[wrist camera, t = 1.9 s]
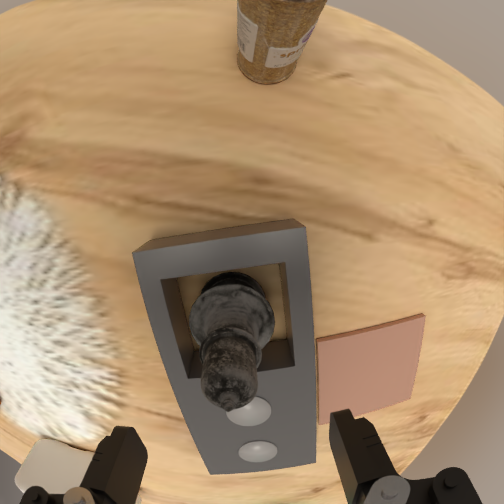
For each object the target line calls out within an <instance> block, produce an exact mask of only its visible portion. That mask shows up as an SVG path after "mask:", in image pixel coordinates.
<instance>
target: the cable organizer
mask: <svg viewBox="0 0 504 504" xmlns="http://www.w3.org/2000/svg"><path fill="white" fill-rule="evenodd" d="M94 454H95V452H91V451H82V450H79V449H76V448H73V447H70V446H69V445H68V444H65V443H62V442H59V441H56V440H53V439H52V440H49V439H41V440H38V441H37V442H36V443H35V444H34V446H33V447H32V449H31V451H30V452H29V454H28V455H27V457H26V459H25V461H24V462H23V464H22V466H21V467H20V469H19V471H18V472H17V474H16V476H15V483H16V485H17V487H18V488H19V489H20V490H21V491H22V492H23V493H25V491H26V490H27V489H28V488H30V487H32V486H40V487H42V488H44V489H45V490H46V491H47V492H48V493H49V494H65V493H66V492H67V491H68V490H69V489H71V488H74V487H79V486H80V484H81V482H82V480H83V478H84V475H85V473H86V471H87V469H88V466H89V464H90V462H91V461H92V457H93V455H94ZM141 501H142V500H141V497H140V495H139V494H138V496H137V499H136V503H135V504H141Z"/></svg>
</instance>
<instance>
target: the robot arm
mask: <svg viewBox="0 0 504 504" xmlns="http://www.w3.org/2000/svg"><path fill="white" fill-rule="evenodd" d="M329 440H330V446H331V450H332V453H333V456H334V459H335V462H336V466H337V469H338V472H339V475H340V479H341V482H342V485H343V489H344V492H345V495H346V498H347V502H348V504H482V502H481V500H480V498H479V496H478V494H477V492H476V490H475V489H474V487H473V485H472V483H471V481H470V479H469V477H468V475H467V474H466V472H465V471H464V470H462V469H460V468H457V467H450V468H446V469H444V470H442V471H440V472H439V473H438V474H437V475H436V477H433V478H427V479H420V480H409V479H405V478H403V477H401V476H400V475H399V474H398V473H397V472H396V471H395V469H394V467H393V464H392V462H391V460H390V458H389V456H388V454H387V452H386V450H385V448H384V446H383V444H382V443H381V440H380V438H379V436H378V434H377V431H376V429H375V427H374V425H373V424H372V423H371V422H369V421H368V420H367V419H365V418H364V417H363V418H359V419H354V417H353V415H352V412H351V410H350V409H344V410H340V411H336V412H331V413H330V428H329ZM147 459H148V454H147V450H146V447H145V446H144V444H143V442H142V441H141V439H140V437H139V436H138V434H137V432H136V430H135V429H134V428H133V427H125V426H115V427H114V429H113V431H112V433H111V436H106V437H105V438H104V439H103V440H102V441H101V442H100V443H99V444H98V447H97V449H96V451H95V454H94V455H93V457H92V461H91V462H90V464H89V466H88V469H87V471H86V473H85V475H84V478H83V480H82V482H81V484H80V486H79V487H74V488H71V489H69V490H68V491H67V492H66V493H65V494H49V493H48V492H47V491H46V490H45V489H44V488H42V487H40V486H32V487H30V488H28V489H27V490H26V491H25V493H24V495H23V497H22V499H21V502H20V504H135V503H136V499H137V496H138V492H139V488H140V485H141V481H142V477H143V474H144V470H145V467H146V463H147Z"/></svg>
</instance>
